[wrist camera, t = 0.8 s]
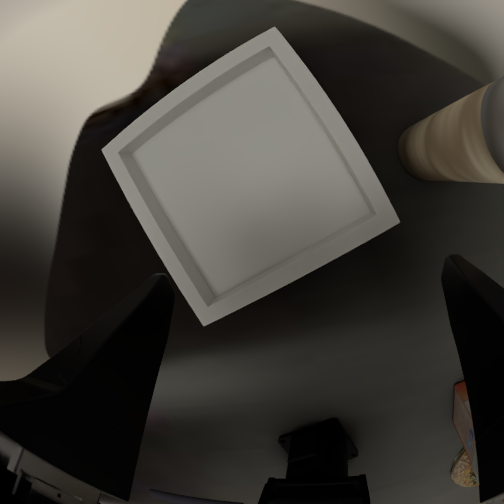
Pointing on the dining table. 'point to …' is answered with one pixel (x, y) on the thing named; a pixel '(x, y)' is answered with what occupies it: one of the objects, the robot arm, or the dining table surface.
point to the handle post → (459, 140)
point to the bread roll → (463, 471)
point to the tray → (247, 178)
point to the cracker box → (467, 430)
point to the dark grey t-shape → (184, 498)
